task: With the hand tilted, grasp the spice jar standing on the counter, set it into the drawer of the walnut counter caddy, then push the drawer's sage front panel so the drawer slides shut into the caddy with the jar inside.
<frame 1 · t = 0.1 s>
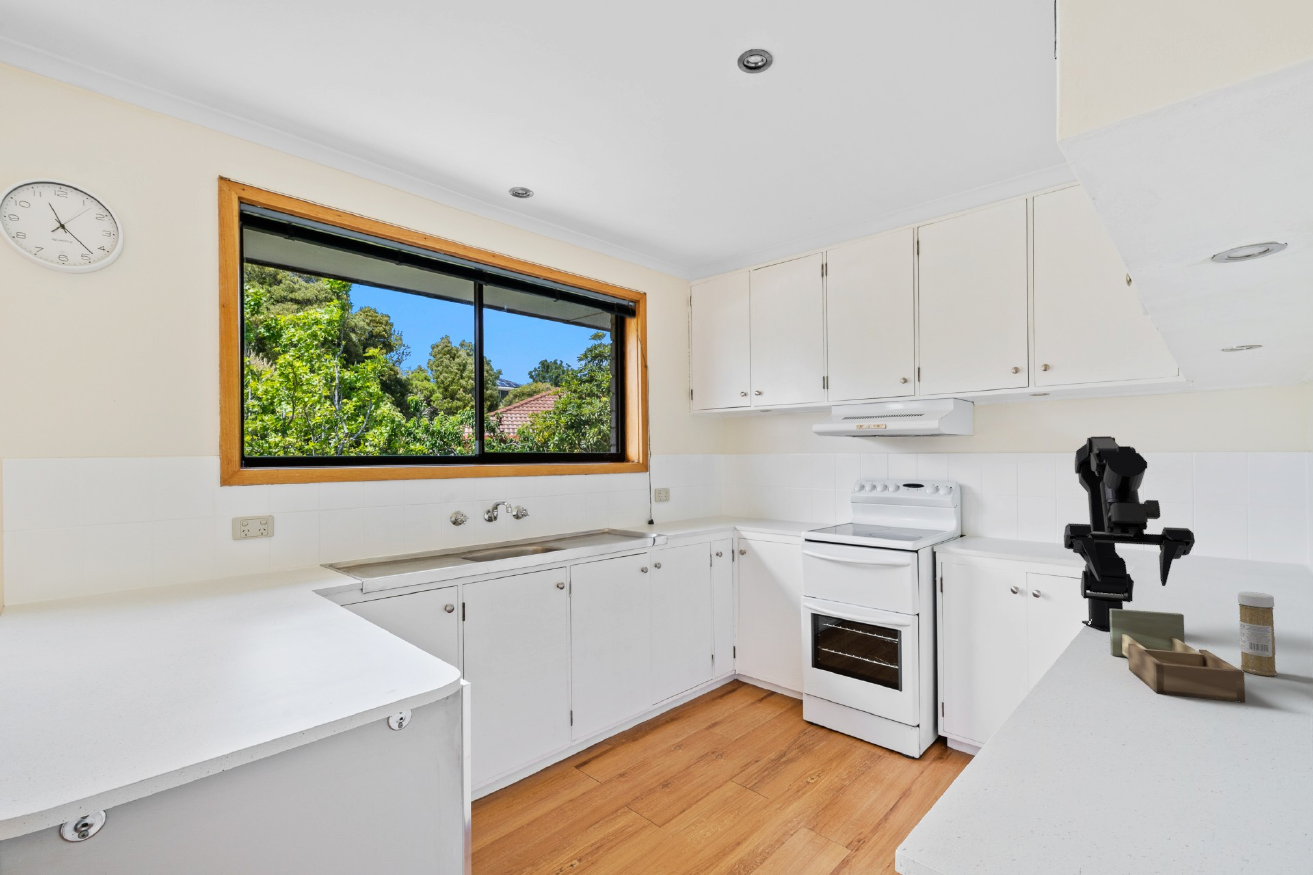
hand: (1131, 582, 112), 15 cm above the counter, tool tilted 35°, fingers open, 9 cm apart
spice jar: (1258, 673, 109), on the counter
walnut caddy: (1182, 684, 103), on the counter
drawer: (1158, 642, 112), point 4 cm above the counter, slide at 8.0 cm
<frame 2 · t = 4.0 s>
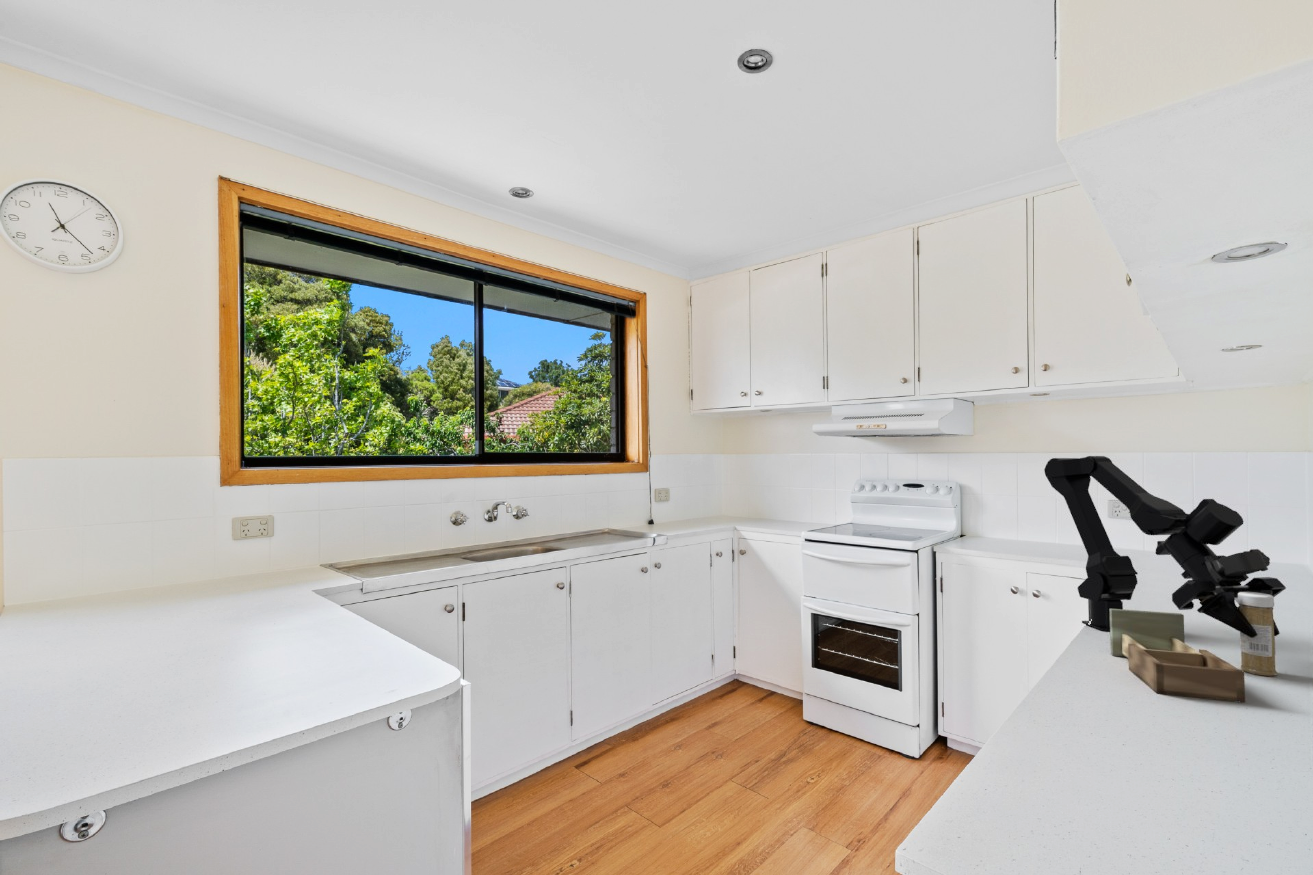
hand: (1265, 635, 108), 7 cm above the counter, tool tilted 45°, fingers closed on spice jar, 4 cm apart
spice jar: (1258, 673, 109), on the counter, touching gripper
everything else where it was.
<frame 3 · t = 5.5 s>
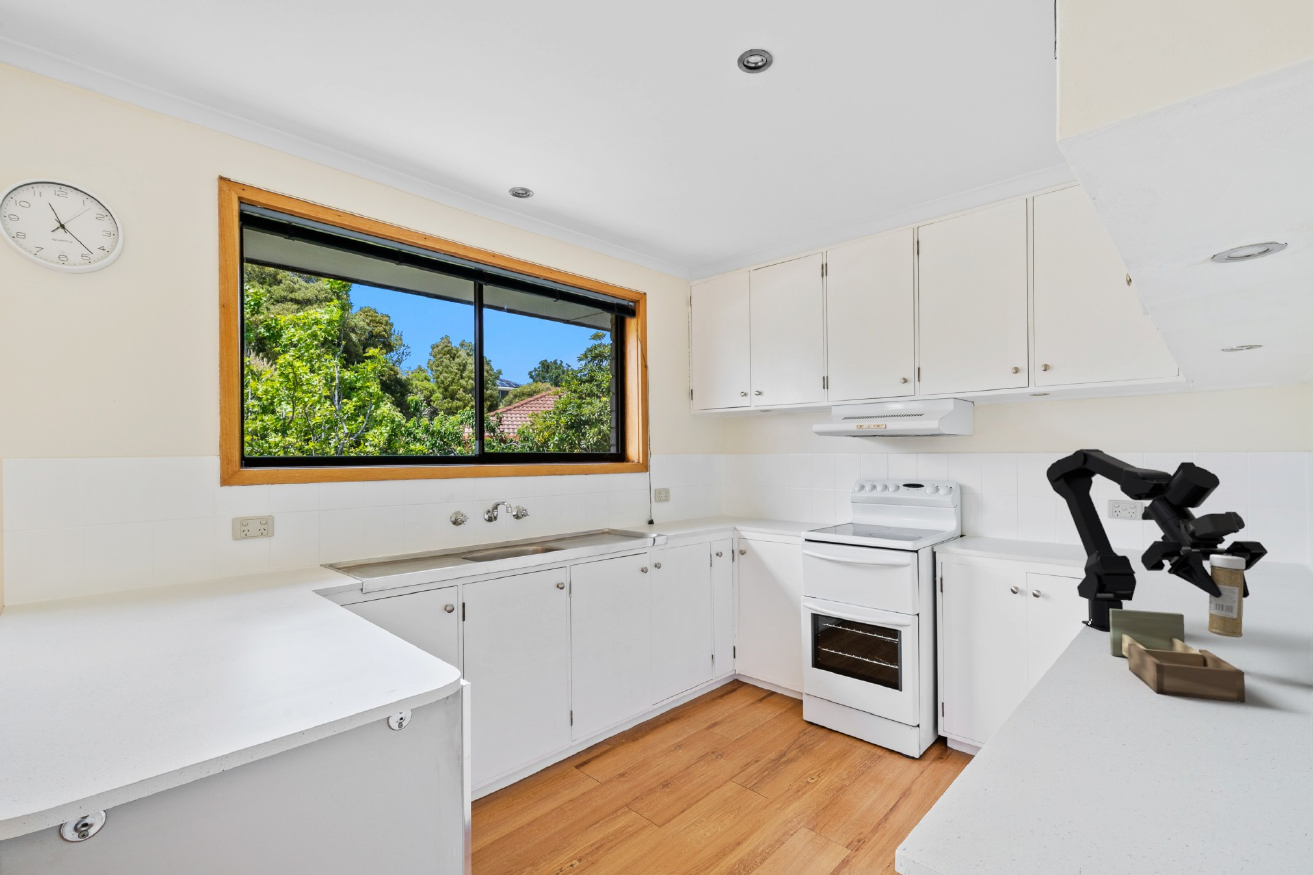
hand: (1233, 596, 108), 13 cm above the counter, tool tilted 45°, fingers closed on spice jar, 4 cm apart
spice jar: (1224, 635, 109), point 6 cm above the counter, touching gripper
everything else where it was.
when the fingers open (9 cm above the counter, at t = 7.2 s): spice jar stays where it is, resting on drawer.
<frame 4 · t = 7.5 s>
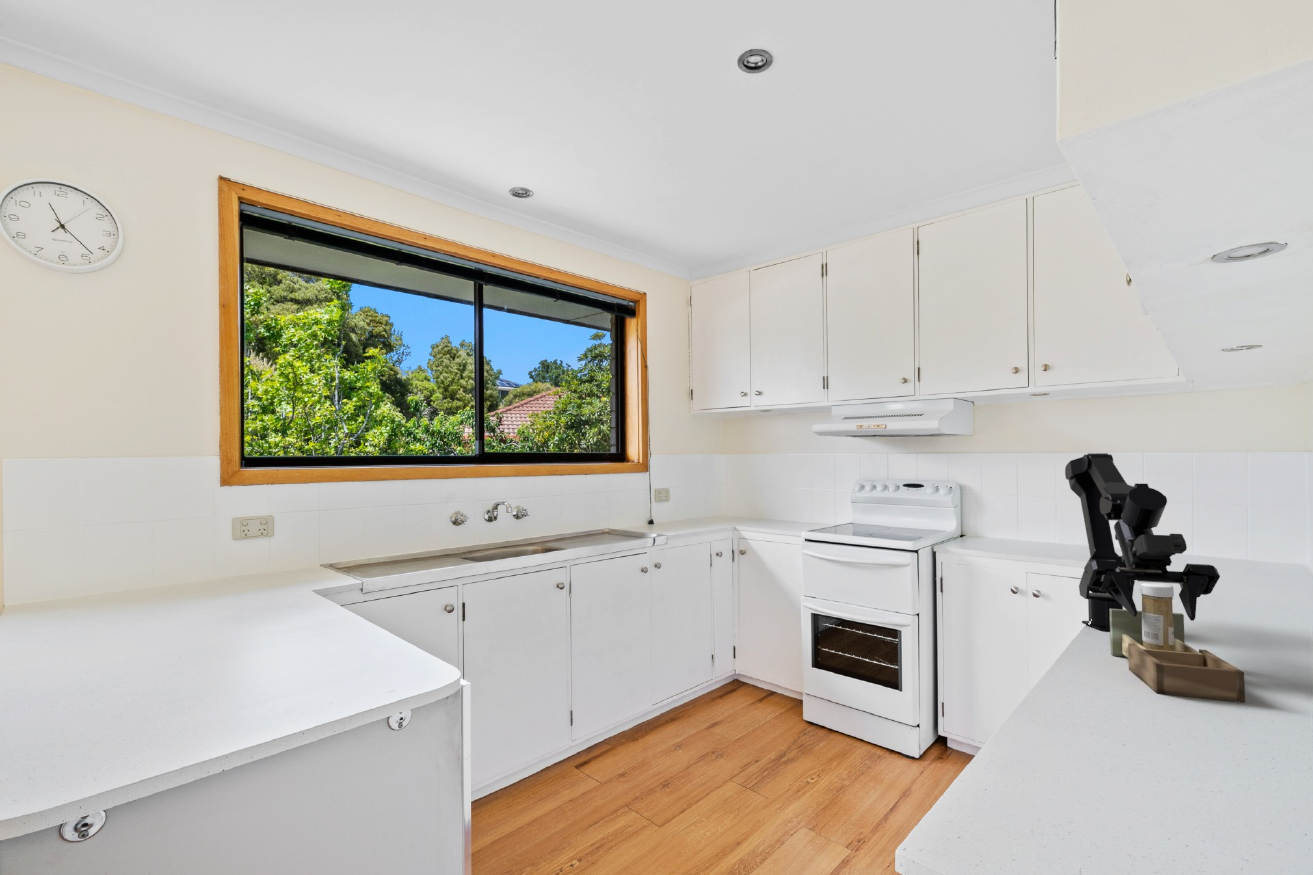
hand: (1164, 617, 109), 9 cm above the counter, tool tilted 45°, fingers open, 8 cm apart
spice jar: (1158, 662, 111), point 1 cm above the counter, touching drawer
drawer: (1158, 642, 112), point 4 cm above the counter, slide at 8.0 cm, touching spice jar
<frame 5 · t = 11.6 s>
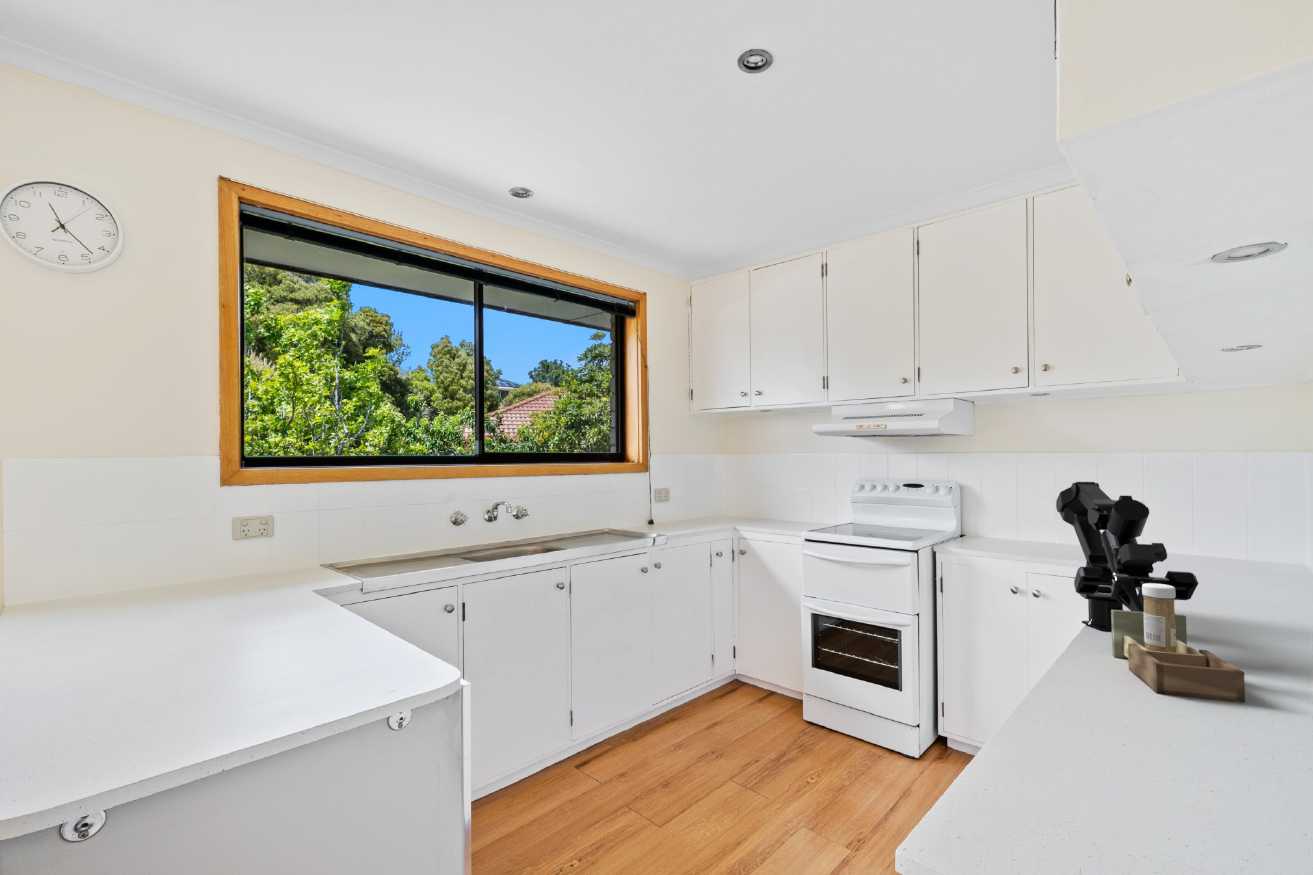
hand: (1146, 621, 117), 7 cm above the counter, tool tilted 45°, fingers closed, pressing on drawer
drawer: (1160, 643, 111), point 4 cm above the counter, slide at 7.1 cm, touching gripper, spice jar
everything else where it was.
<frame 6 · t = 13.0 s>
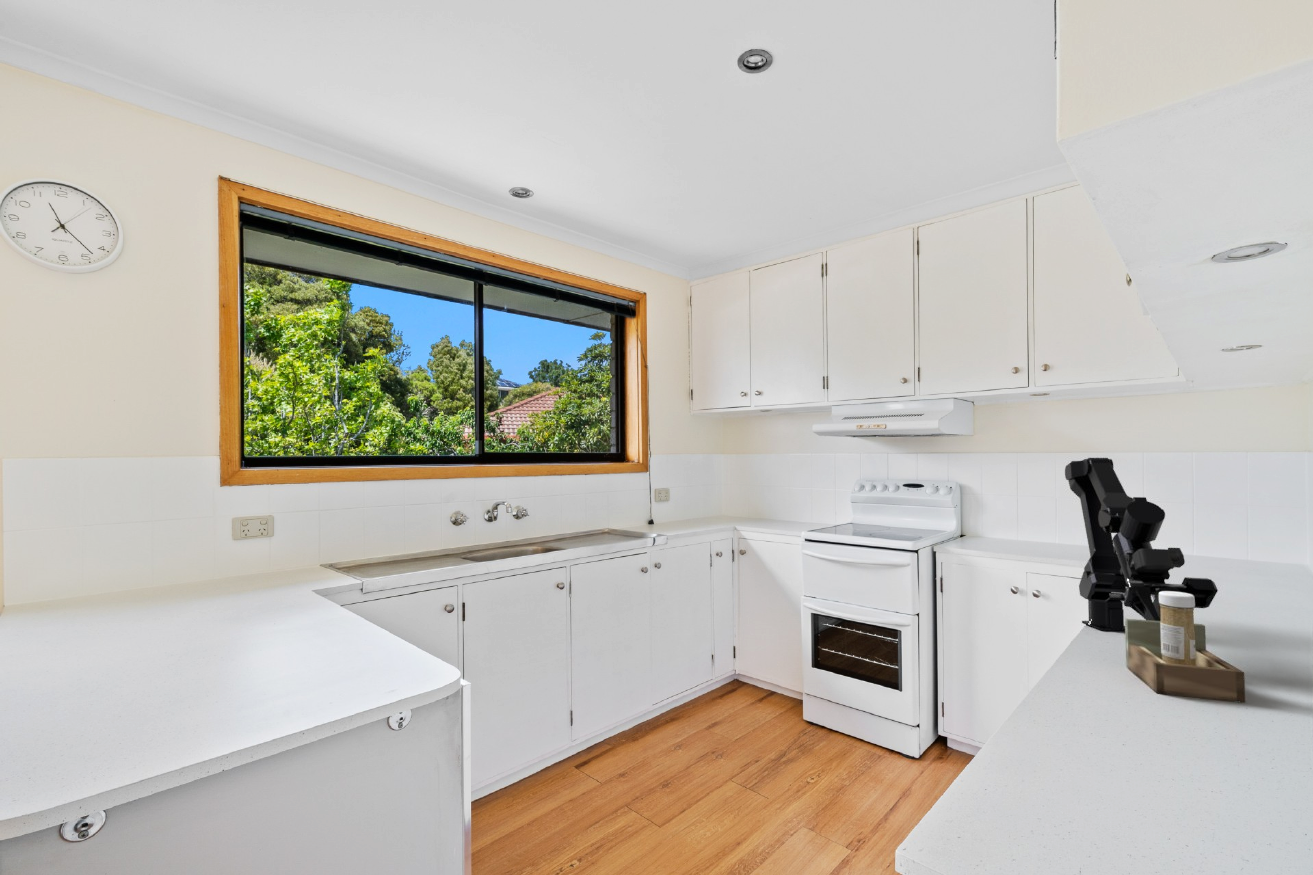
hand: (1162, 630, 110), 7 cm above the counter, tool tilted 45°, fingers closed, pressing on drawer
spice jar: (1178, 677, 103), point 1 cm above the counter, touching drawer
drawer: (1178, 655, 104), point 4 cm above the counter, slide at -0.1 cm, touching gripper, spice jar
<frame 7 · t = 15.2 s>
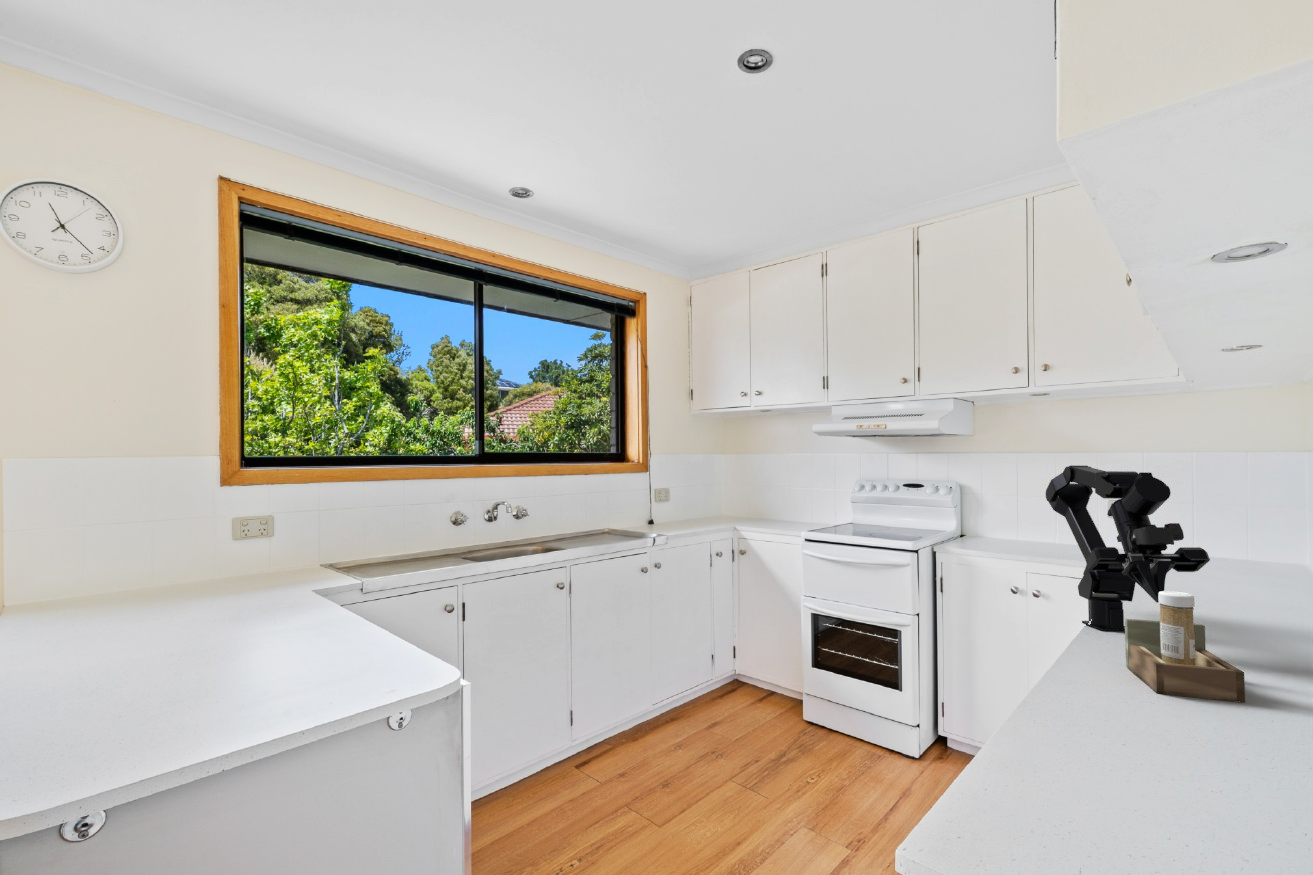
hand: (1160, 601, 119), 10 cm above the counter, tool tilted 30°, fingers closed
drawer: (1178, 655, 104), point 4 cm above the counter, slide at 0.0 cm, touching spice jar
everything else where it was.
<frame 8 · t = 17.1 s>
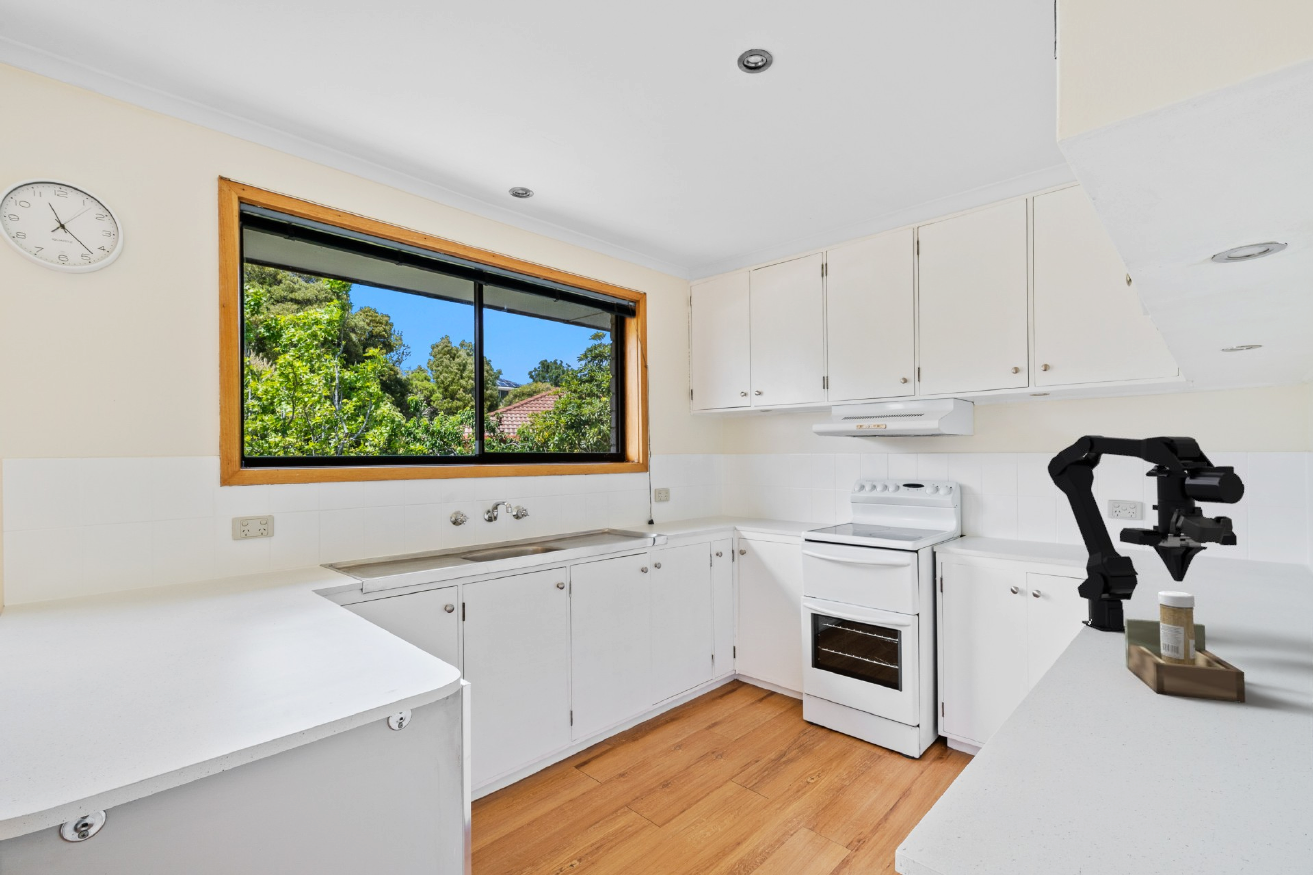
hand: (1178, 581, 123), 13 cm above the counter, tool pointing down, fingers closed
nothing on the counter moved.
at the end: drawer slide at 0.0 cm; spice jar inside the target area on the walnut caddy (0.5 cm from its centre), point 1.1 cm above the walnut caddy's base; spice jar tilted 0° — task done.
